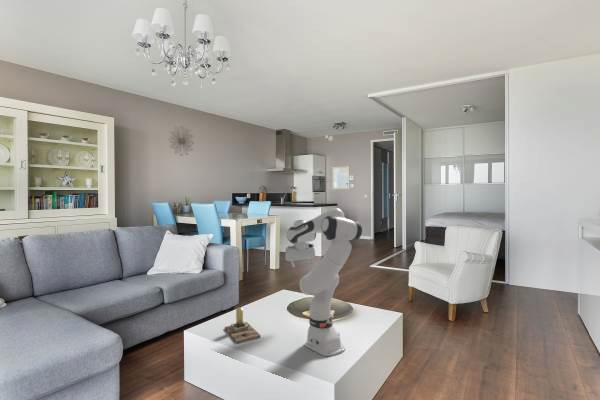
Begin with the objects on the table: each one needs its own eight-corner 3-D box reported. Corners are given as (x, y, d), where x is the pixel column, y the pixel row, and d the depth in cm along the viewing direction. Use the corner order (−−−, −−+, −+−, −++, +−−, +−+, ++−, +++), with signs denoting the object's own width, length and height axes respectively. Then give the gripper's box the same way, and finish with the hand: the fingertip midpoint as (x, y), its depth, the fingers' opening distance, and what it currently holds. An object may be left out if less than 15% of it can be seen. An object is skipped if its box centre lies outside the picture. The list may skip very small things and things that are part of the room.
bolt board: (260, 337, 191) (260, 331, 190) (236, 343, 184) (236, 337, 184) (246, 323, 210) (246, 318, 210) (224, 328, 203) (224, 323, 203)
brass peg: (244, 329, 199) (244, 309, 199) (237, 330, 197) (237, 310, 197) (241, 326, 203) (241, 306, 202) (235, 327, 201) (235, 308, 200)
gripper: (287, 247, 209) (288, 269, 209) (316, 244, 219) (316, 265, 219) (283, 245, 215) (283, 267, 215) (311, 243, 224) (311, 264, 225)
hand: (300, 266), depth 217 cm, fingers open, 8 cm apart
